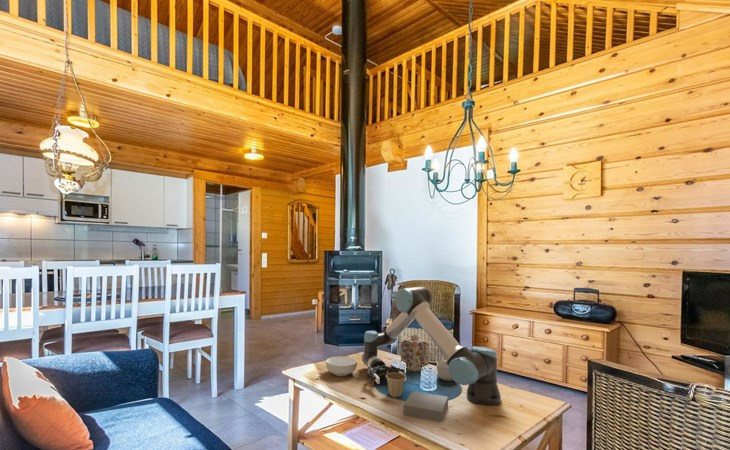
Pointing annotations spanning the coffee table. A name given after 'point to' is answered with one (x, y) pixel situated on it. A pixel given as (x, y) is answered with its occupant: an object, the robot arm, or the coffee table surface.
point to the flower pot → (395, 383)
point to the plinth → (426, 406)
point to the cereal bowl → (341, 365)
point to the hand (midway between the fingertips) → (392, 379)
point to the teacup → (443, 371)
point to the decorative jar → (415, 352)
